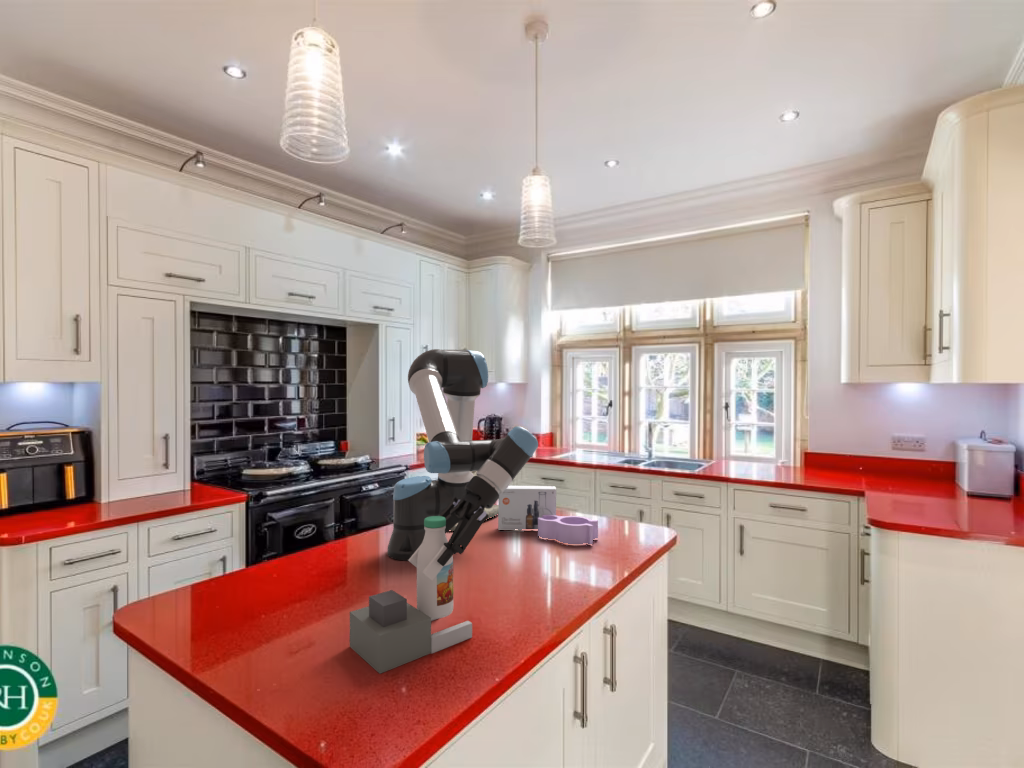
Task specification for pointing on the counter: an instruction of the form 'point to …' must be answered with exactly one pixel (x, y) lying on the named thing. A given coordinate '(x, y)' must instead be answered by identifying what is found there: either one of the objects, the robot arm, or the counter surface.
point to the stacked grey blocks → (398, 632)
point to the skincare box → (525, 506)
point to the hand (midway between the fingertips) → (419, 570)
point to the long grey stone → (490, 512)
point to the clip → (568, 529)
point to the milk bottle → (439, 592)
